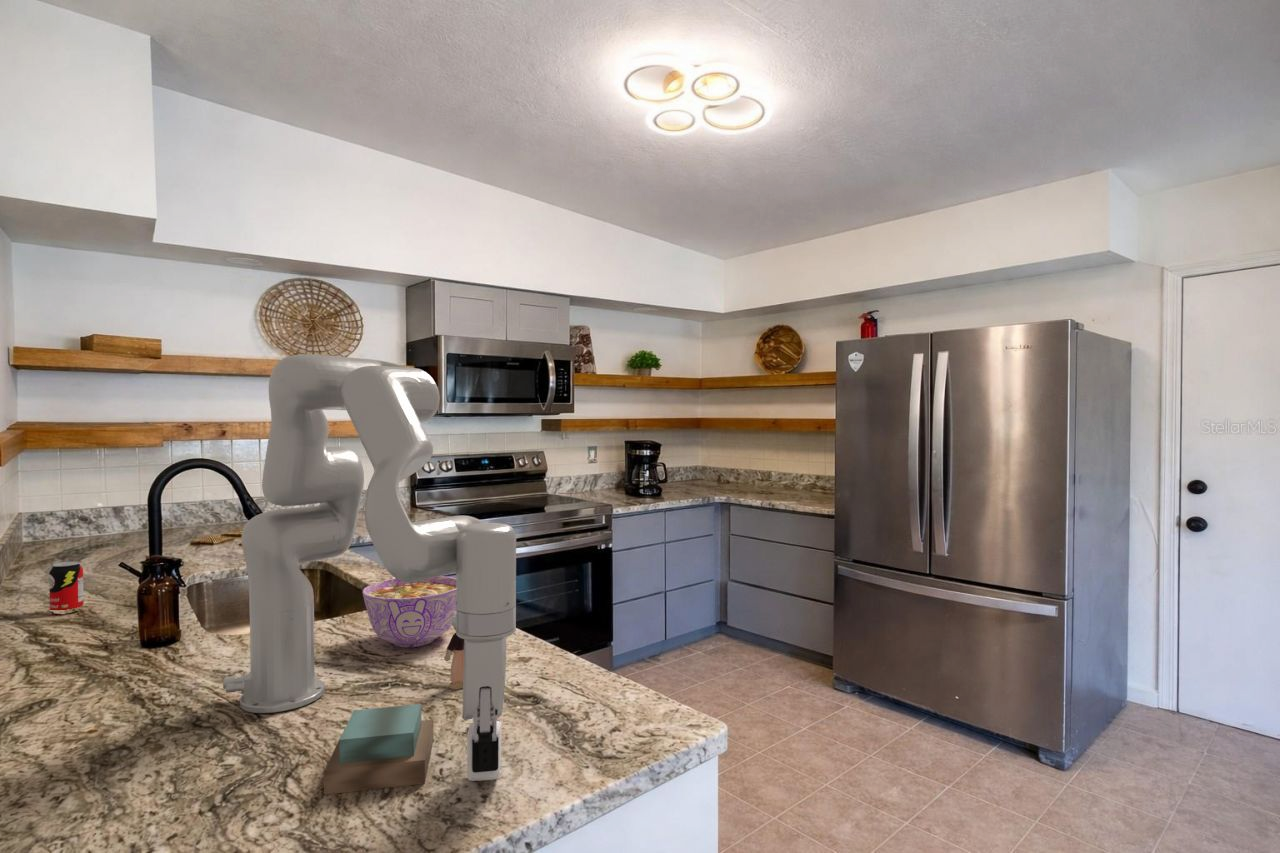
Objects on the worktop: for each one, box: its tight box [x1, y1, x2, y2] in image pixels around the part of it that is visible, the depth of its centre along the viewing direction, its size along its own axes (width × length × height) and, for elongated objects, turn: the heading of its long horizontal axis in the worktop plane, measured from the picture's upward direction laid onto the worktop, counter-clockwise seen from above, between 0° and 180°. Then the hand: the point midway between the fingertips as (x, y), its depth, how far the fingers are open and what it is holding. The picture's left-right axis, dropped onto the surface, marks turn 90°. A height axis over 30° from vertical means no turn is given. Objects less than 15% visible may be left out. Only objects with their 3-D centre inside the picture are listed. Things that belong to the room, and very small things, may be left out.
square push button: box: [323, 703, 434, 795], centre depth 91 cm, size 12×12×6 cm
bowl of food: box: [362, 575, 456, 648], centre depth 143 cm, size 20×20×12 cm
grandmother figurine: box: [443, 614, 464, 690], centre depth 119 cm, size 8×4×13 cm, turn 168°
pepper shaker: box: [466, 706, 503, 782], centre depth 88 cm, size 4×4×10 cm
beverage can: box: [48, 560, 84, 611], centre depth 166 cm, size 6×6×12 cm
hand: (485, 759), depth 88 cm, fingers closed on pepper shaker, 4 cm apart
